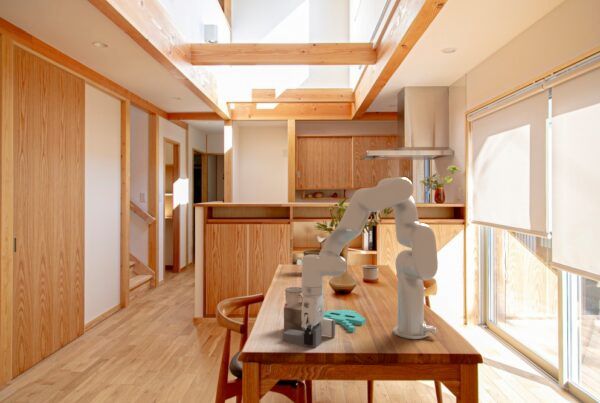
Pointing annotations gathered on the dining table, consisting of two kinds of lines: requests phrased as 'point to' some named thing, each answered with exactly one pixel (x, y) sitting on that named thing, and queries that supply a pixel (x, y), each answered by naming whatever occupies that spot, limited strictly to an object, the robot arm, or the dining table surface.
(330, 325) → the gate
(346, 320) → the alien figure
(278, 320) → the dining table surface
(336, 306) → the dining table surface
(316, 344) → the grey stepped block
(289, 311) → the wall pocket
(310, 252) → the plant pot
